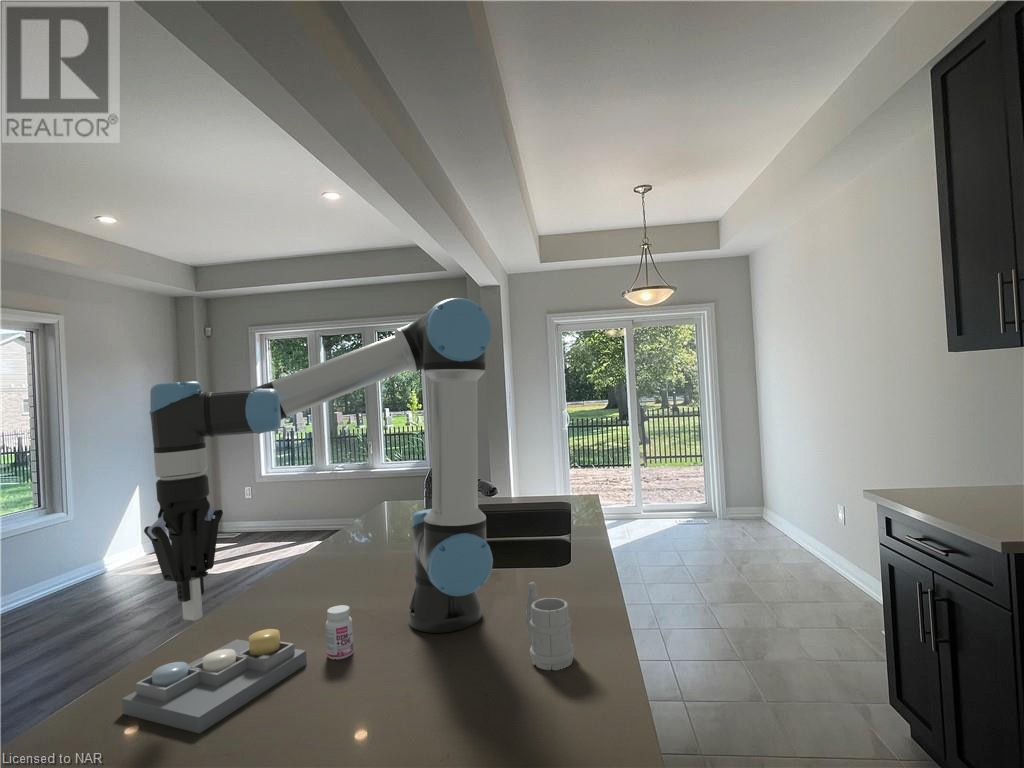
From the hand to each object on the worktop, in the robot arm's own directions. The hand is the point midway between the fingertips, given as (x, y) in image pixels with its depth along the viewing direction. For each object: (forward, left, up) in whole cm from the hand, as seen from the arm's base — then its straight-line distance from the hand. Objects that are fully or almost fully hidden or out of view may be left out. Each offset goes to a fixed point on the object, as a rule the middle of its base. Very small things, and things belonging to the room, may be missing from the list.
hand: (192, 617), depth 97 cm
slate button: (+2, +3, -10) cm, 10 cm away
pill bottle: (-14, -19, -13) cm, 27 cm away
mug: (-51, -29, -13) cm, 60 cm away
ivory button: (-2, -3, -10) cm, 10 cm away
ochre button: (-6, -9, -8) cm, 14 cm away
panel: (-2, -3, -13) cm, 13 cm away
